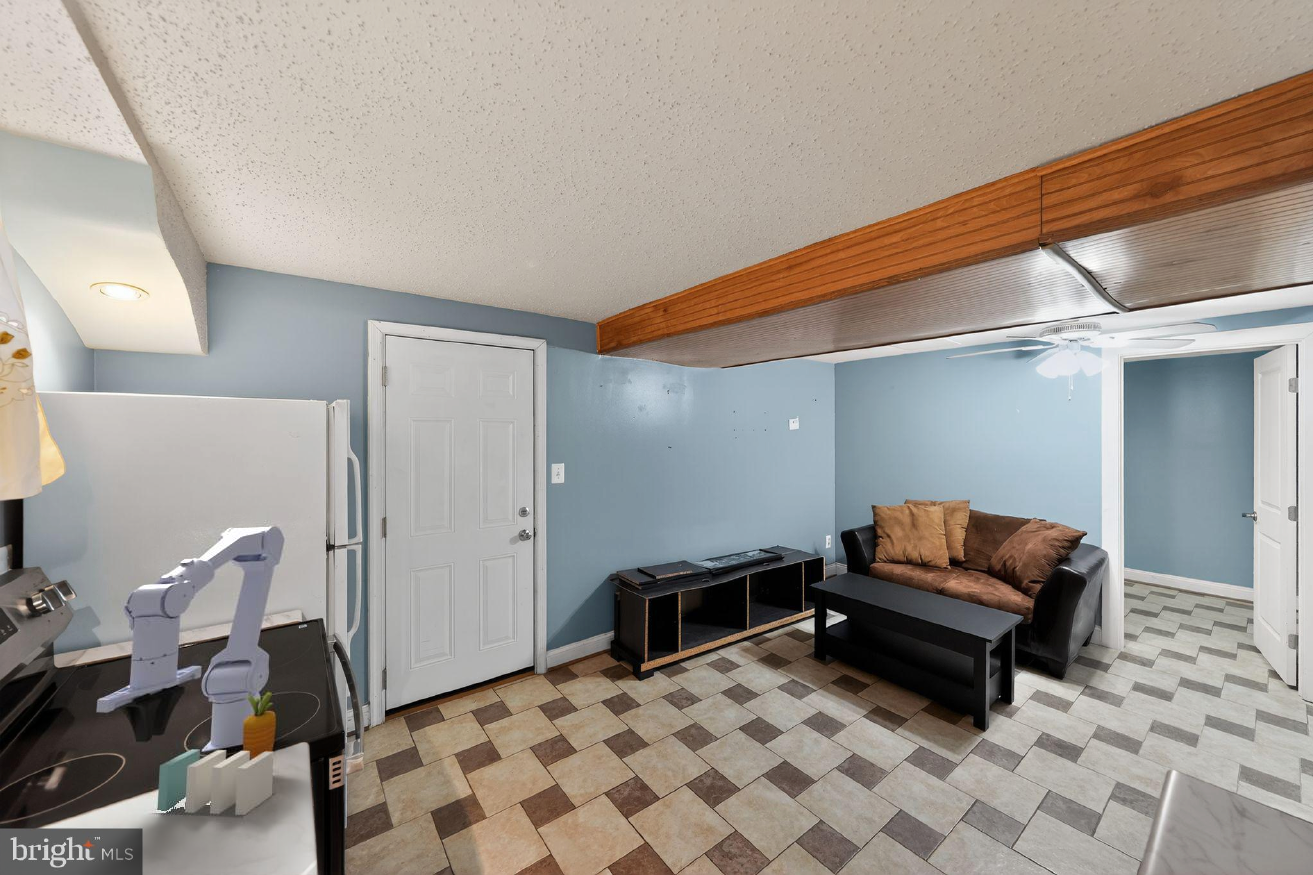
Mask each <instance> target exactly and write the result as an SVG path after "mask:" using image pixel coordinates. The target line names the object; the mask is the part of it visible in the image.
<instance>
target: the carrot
mask: <svg viewBox="0 0 1313 875" xmlns="http://www.w3.org/2000/svg"><path fill="white" fill-rule="evenodd" d="M271 697H272V692H269V691H268V692H266V693H265V695H264V696H263V697H262V699H261V698H260V699H259V698H257V699H256V700H254V698H253V697H252V696H250V697H249V698H248V699H249V701H250V703H251V705H252V707H253V709H254V714H253V715H251V716H249V717H247V718H246V719H245V720H244V723H243V744H242V749H243V750H242V751H250V757H249V761H250V760H252V759H254V758H255V757H257V756H258V755H260V754H262V753H263V752H265V751H266V752H273V747H274V744H275V735H276V722H277V717H276V713H275V712H274V711H272V710H268V709H269V708H270V707H272V705H273V704H274V703H273V702H269V701H270V699H271ZM259 702H260V707H259V710H258V705H259Z"/></svg>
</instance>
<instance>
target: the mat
mask: <svg viewBox="0 0 1313 875" xmlns="http://www.w3.org/2000/svg"><path fill="white" fill-rule="evenodd" d="M275 795H276V793H273V792H272V796H270V797H269V798H268V799H266V800H265V801H263V802H262V803H261V804H259V805H258V806H256V807H255V808H254V809H252V810H251V811H249V812H248V813H247V814H245V815H235V810H236V803H234V804H233V805H231V806H230V807H228V808H227V809H225V810H224V811H222V812H221V813H220V814H210V805H205V806H204V807H202V808H200V809H199V810H197V811H196V812H194V813H188V812H185V809H184V807H180V808H177V809H176V807H175V809H174V807H173V809H171V811H169V812H168V811H167V812H166V814H165V815H175V816H176V815H181V816H200V817H201V816H202V817H203V816H204V817H220V818H221V817H223V818H226V817H227V818H244V817H245V816H247V815H248V814H249V813H251V812H252V811H254V810H256V809H257V808H258V807H260V806H261V805H262V804H263V803H265V802H266V801H268V800H269V799H271V798H272V797H273V796H275Z"/></svg>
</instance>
